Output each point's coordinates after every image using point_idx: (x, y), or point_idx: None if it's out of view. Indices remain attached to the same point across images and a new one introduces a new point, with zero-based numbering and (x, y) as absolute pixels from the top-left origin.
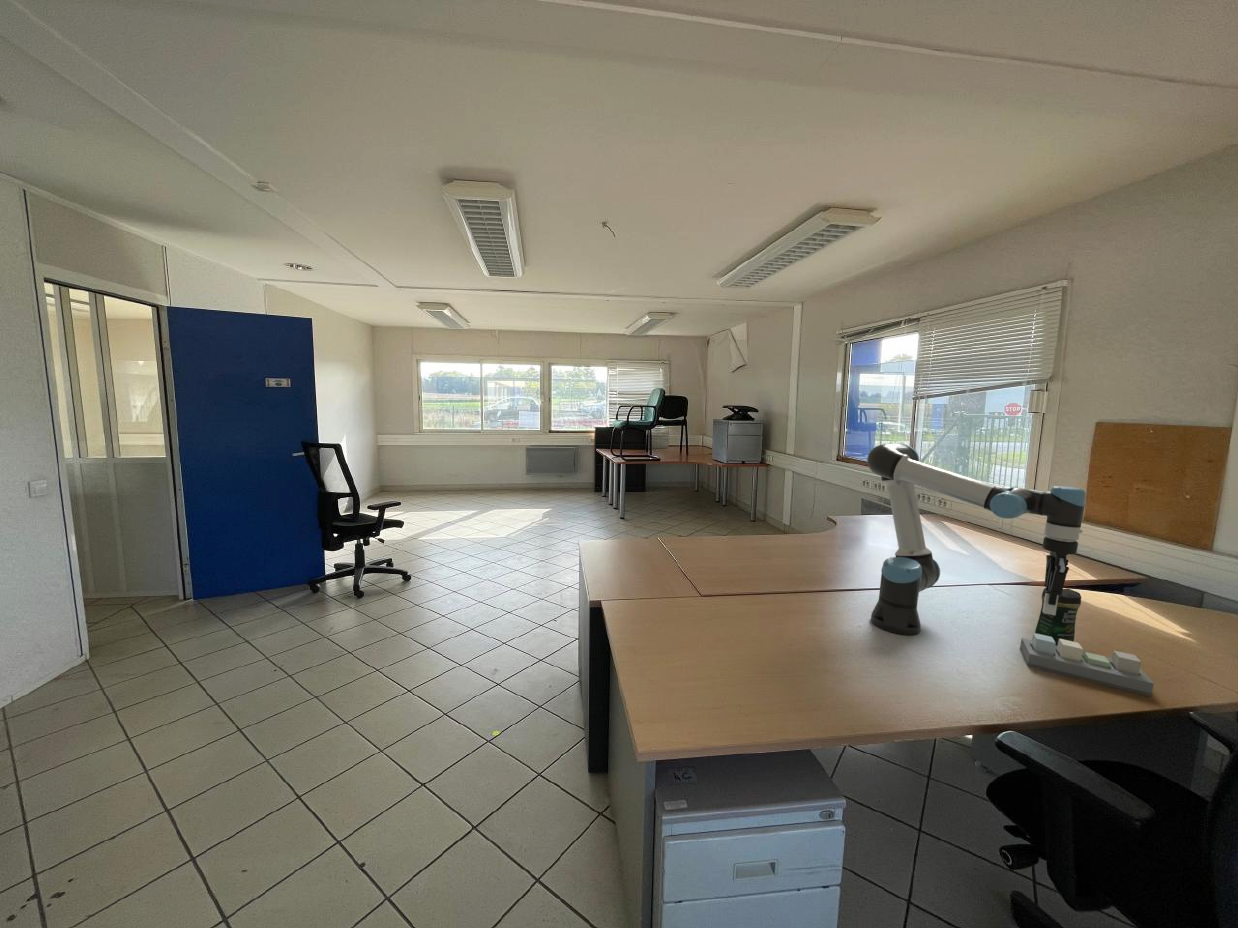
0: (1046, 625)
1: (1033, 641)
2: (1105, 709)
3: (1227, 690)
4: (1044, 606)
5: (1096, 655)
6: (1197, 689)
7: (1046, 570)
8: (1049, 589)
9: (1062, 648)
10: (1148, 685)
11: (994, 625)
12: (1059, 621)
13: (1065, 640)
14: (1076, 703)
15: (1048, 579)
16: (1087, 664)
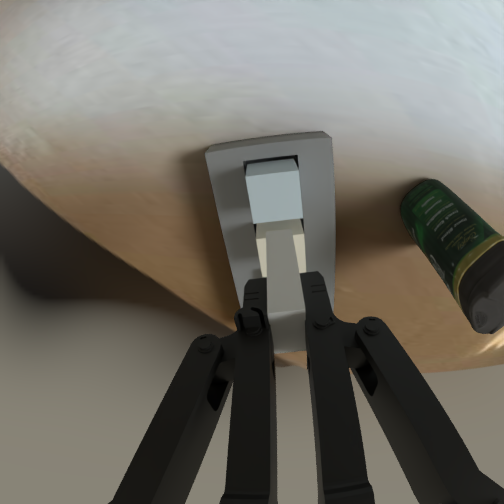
0: (432, 212)
1: (276, 165)
2: (128, 259)
3: (350, 373)
4: (269, 250)
5: None
6: None
7: (426, 427)
8: (236, 348)
9: (256, 233)
10: None
11: (448, 97)
12: (431, 248)
13: (299, 247)
14: (108, 225)
15: (315, 398)
16: (251, 265)
